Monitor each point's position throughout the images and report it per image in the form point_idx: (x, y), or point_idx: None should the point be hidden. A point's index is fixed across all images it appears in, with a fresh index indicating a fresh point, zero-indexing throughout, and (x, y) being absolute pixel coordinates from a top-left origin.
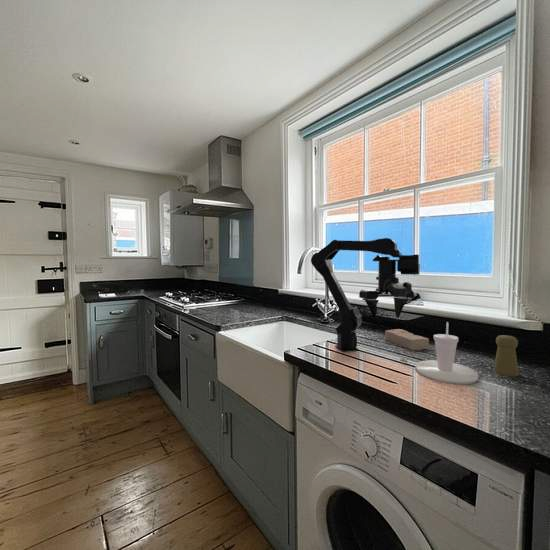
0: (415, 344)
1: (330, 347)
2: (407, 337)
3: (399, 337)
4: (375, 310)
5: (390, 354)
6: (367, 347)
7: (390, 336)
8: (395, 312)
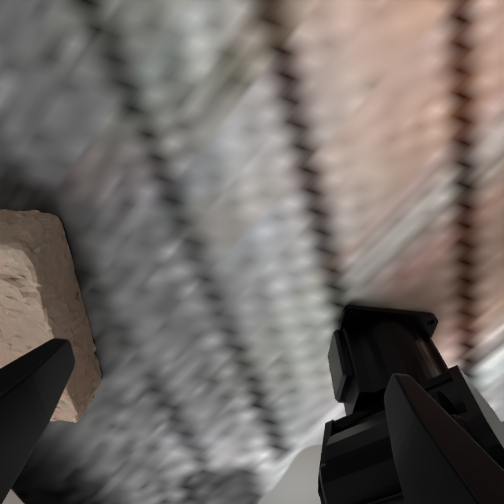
0: (20, 224)
1: None
2: (23, 296)
3: (59, 328)
4: (495, 491)
5: (228, 198)
6: (263, 325)
7: (82, 373)
8: (42, 427)
